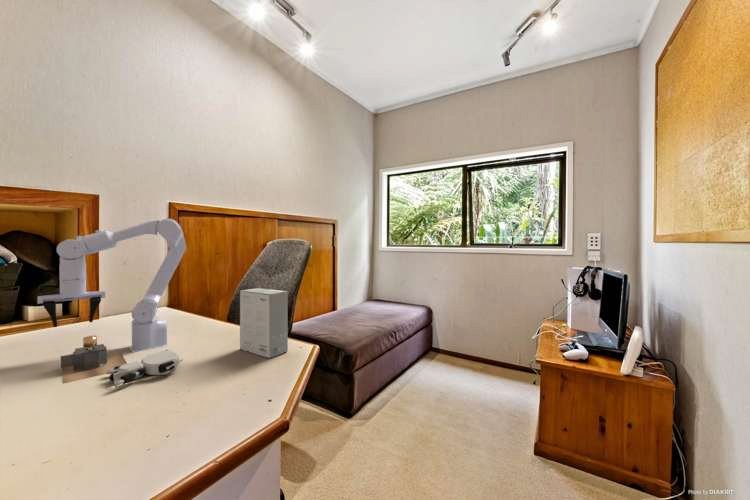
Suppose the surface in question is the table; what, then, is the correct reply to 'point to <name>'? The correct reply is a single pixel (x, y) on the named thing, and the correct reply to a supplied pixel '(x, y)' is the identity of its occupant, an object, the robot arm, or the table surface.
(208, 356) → the table surface
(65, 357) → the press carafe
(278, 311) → the hard drive box
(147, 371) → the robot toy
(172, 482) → the table surface
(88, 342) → the plunger
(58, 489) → the table surface
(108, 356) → the walnut board
